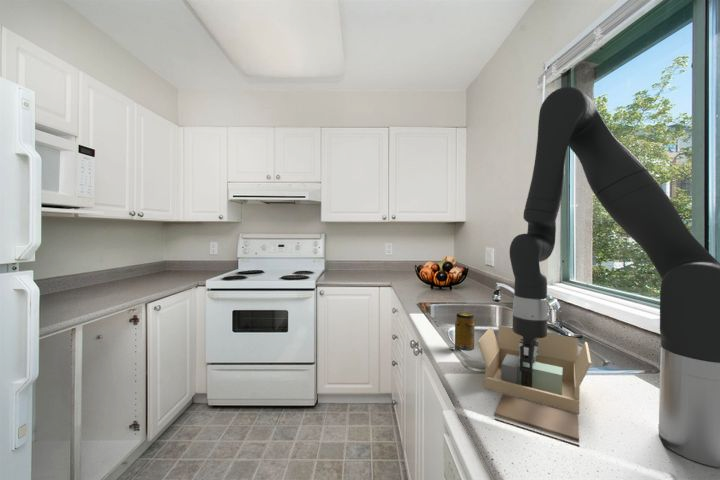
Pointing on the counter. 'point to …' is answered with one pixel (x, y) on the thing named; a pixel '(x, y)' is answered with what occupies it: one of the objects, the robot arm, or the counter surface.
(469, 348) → the condiment
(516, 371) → the box
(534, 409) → the board
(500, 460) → the counter surface
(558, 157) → the robot arm
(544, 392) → the carton
